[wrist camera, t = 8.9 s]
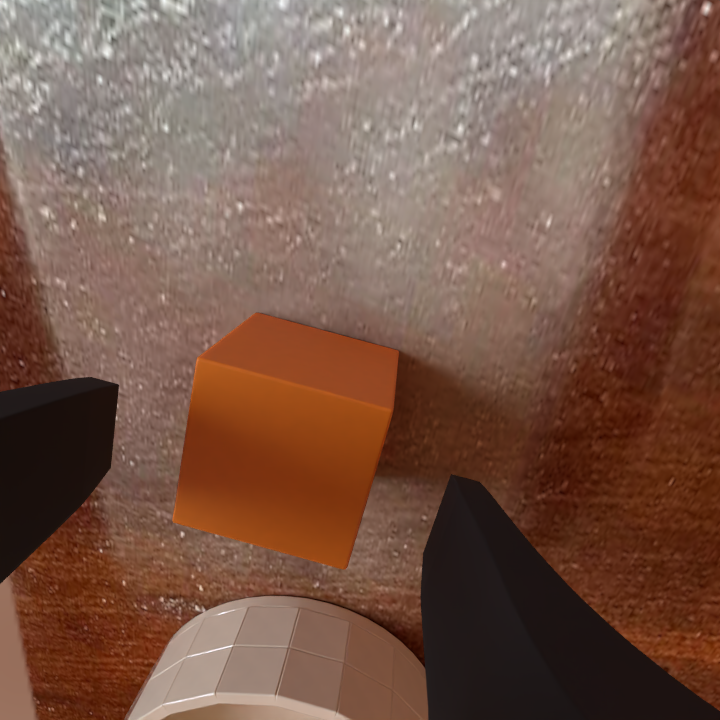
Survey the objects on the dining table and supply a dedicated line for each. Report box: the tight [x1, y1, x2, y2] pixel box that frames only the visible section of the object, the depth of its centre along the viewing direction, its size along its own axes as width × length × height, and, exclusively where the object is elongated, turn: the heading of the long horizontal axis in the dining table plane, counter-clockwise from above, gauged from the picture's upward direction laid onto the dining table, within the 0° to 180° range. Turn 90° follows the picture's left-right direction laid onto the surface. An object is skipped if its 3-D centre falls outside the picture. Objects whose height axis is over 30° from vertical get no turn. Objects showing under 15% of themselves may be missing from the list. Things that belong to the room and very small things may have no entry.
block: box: [173, 313, 399, 570], centre depth 13 cm, size 4×4×4 cm
